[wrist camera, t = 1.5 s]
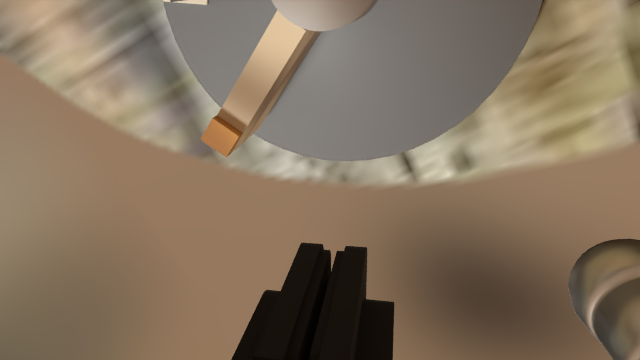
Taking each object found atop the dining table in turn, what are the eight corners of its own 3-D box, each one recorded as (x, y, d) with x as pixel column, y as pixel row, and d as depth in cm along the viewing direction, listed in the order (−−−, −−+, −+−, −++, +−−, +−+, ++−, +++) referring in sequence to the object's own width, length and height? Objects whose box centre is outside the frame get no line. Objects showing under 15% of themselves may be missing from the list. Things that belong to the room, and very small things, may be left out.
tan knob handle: (327, -96, 23) (302, -128, 17) (403, -38, 23) (403, -51, 18) (220, 95, 28) (172, 120, 22) (283, 140, 28) (253, 175, 23)
